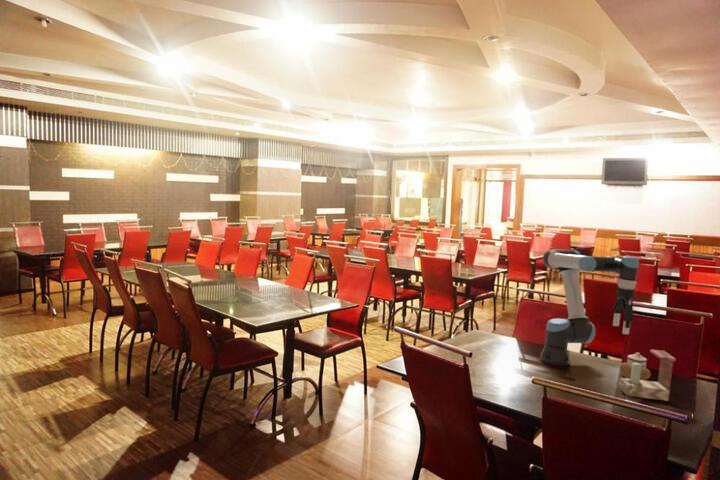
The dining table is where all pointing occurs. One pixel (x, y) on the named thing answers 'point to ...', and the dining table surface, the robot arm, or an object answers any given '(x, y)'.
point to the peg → (635, 373)
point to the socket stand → (650, 387)
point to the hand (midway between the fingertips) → (620, 329)
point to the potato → (627, 368)
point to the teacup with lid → (637, 359)
